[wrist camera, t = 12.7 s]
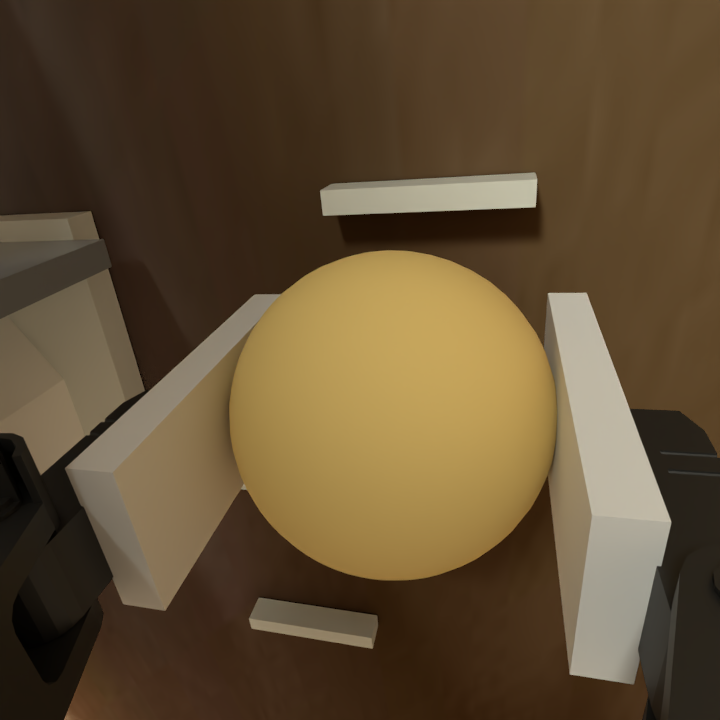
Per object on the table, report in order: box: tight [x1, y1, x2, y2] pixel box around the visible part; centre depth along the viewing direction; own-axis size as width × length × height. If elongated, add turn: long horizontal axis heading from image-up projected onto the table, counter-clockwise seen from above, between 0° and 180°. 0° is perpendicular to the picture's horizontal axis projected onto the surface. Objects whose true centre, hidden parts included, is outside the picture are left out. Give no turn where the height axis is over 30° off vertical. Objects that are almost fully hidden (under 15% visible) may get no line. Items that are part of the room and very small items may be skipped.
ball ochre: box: [229, 250, 557, 580], centre depth 10 cm, size 6×6×6 cm
